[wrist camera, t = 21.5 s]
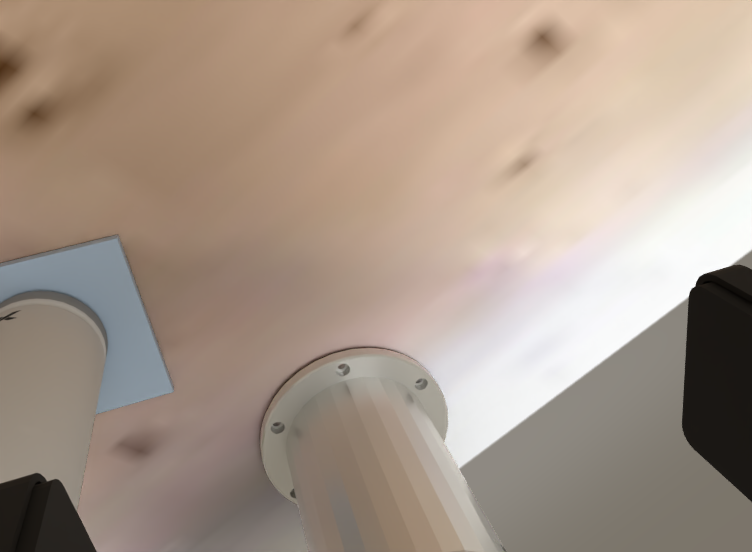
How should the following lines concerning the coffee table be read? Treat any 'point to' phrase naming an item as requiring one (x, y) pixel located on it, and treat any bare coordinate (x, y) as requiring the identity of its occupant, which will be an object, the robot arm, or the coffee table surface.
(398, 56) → the coffee table surface
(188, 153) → the coffee table surface
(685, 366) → the robot arm
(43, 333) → the travel mug
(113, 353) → the pad
